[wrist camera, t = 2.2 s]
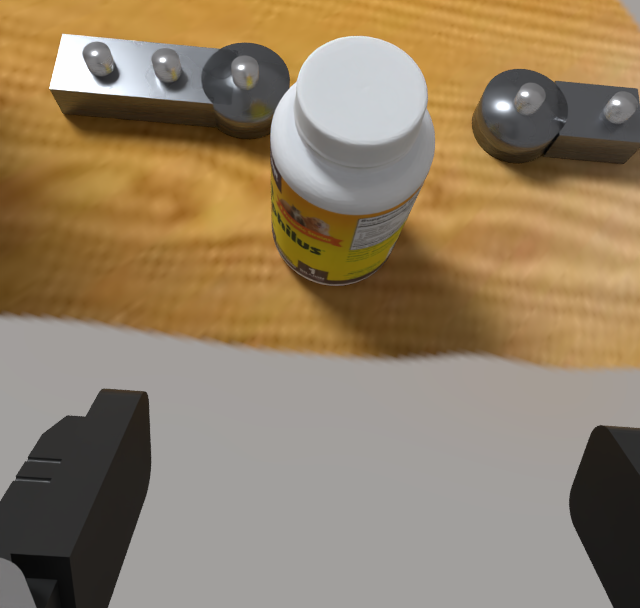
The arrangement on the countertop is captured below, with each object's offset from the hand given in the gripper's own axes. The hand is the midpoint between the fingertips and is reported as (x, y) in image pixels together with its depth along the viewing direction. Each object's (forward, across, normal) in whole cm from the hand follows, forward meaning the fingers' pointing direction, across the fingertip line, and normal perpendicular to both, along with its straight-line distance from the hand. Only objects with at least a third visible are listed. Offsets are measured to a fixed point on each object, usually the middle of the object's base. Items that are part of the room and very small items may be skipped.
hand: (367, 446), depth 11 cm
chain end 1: (+22, +8, -2) cm, 24 cm away
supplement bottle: (+18, 0, +2) cm, 18 cm away
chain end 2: (+22, -11, -2) cm, 25 cm away
